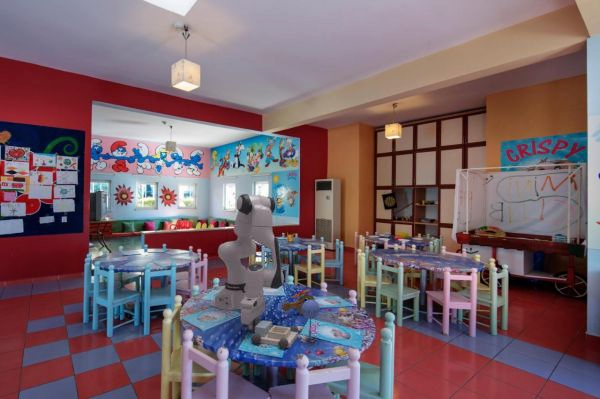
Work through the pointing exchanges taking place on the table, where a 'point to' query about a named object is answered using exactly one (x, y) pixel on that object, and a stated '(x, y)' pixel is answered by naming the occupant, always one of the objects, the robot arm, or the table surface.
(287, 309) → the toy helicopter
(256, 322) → the engine block
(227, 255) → the robot arm
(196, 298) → the table surface
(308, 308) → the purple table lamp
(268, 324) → the chassis
